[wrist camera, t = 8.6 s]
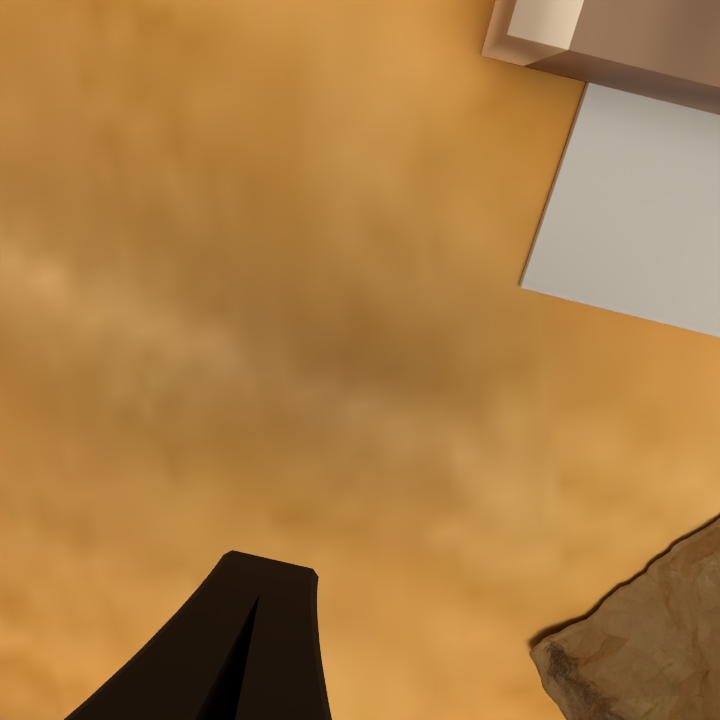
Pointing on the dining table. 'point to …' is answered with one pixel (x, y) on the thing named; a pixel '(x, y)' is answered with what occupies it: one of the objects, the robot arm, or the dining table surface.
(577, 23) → the walnut block
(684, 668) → the rock
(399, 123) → the dining table surface
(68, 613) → the dining table surface
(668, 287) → the board
